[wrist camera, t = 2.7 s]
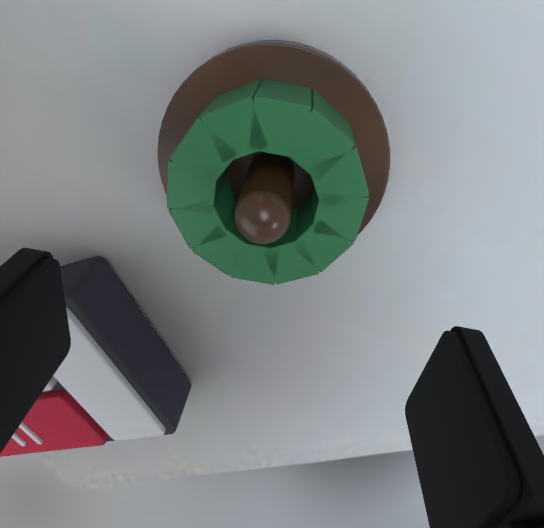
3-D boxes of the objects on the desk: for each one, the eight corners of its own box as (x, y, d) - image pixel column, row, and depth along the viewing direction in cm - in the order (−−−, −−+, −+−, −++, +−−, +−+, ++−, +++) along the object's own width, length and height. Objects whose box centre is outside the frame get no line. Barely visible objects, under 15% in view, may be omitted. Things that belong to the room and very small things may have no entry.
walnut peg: (165, 16, 16) (99, 32, 11) (421, 66, 16) (469, 103, 11) (162, 238, 21) (118, 315, 17) (351, 272, 22) (363, 357, 17)
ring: (191, 64, 16) (169, 79, 13) (381, 100, 16) (394, 122, 14) (183, 230, 20) (165, 266, 17) (334, 258, 20) (337, 296, 18)
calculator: (-151, 357, 23) (59, 306, 19) (-87, 307, 27) (102, 253, 22) (-13, 466, 29) (174, 446, 24) (25, 412, 32) (194, 386, 28)
